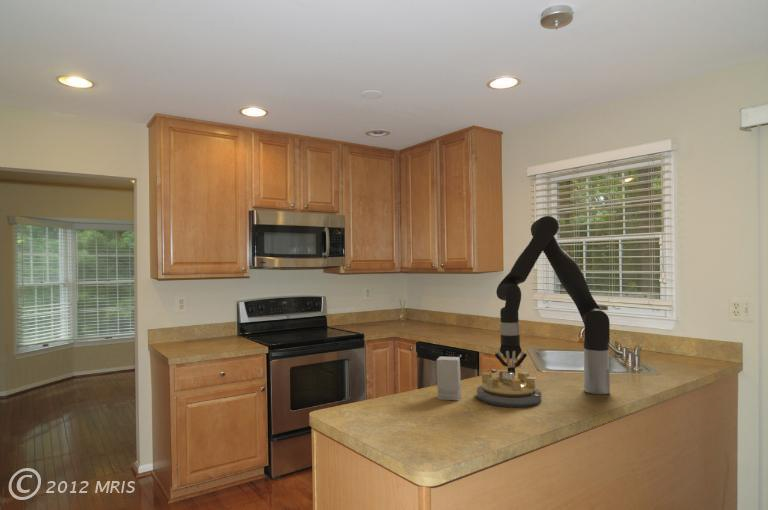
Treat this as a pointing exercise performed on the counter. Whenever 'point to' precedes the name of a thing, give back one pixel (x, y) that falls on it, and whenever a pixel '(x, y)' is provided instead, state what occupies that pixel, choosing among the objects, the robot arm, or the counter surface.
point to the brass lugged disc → (509, 384)
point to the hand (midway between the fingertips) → (511, 376)
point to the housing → (509, 399)
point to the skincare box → (448, 378)
